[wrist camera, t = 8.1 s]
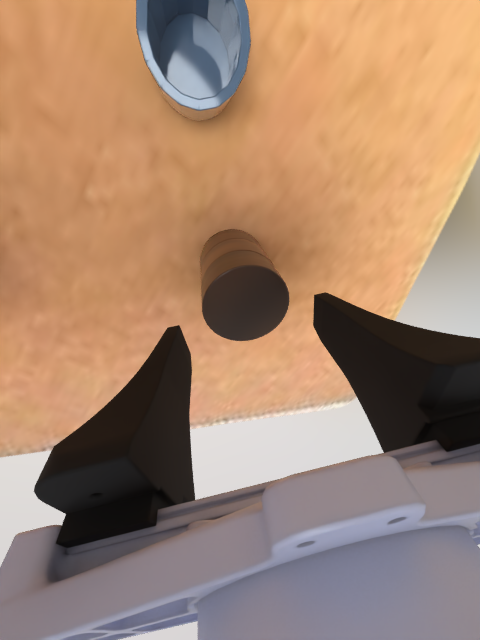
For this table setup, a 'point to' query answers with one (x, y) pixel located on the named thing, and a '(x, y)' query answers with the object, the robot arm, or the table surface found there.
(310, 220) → the table surface
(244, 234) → the oak chip bottom
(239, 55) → the plastic cup
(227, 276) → the walnut chip
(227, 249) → the disc
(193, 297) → the table surface
